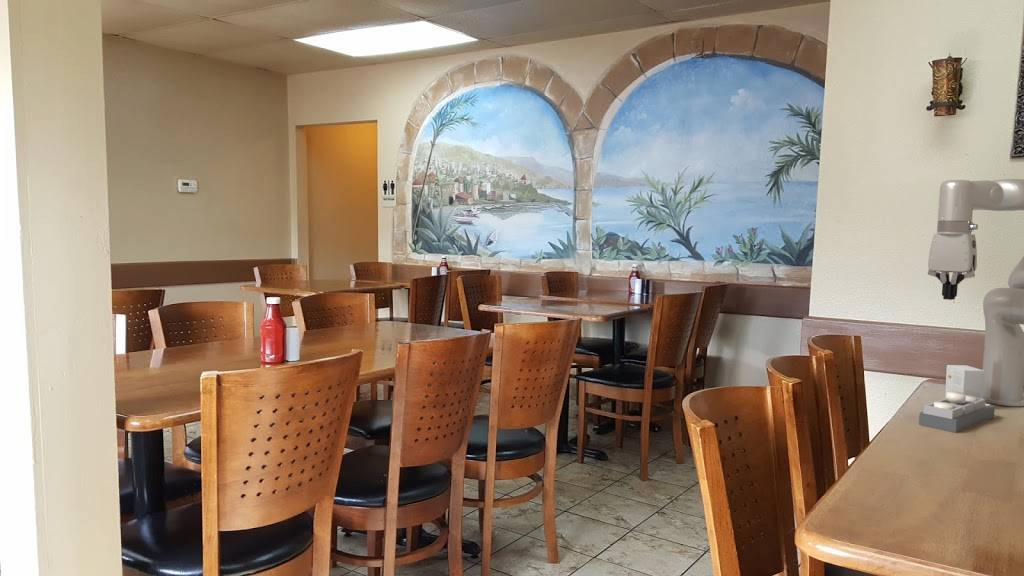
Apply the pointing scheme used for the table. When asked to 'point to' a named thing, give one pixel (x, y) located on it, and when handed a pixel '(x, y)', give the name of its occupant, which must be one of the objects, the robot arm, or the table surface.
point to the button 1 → (944, 405)
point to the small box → (965, 380)
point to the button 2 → (971, 398)
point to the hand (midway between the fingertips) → (949, 299)
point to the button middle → (955, 397)
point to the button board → (956, 415)
